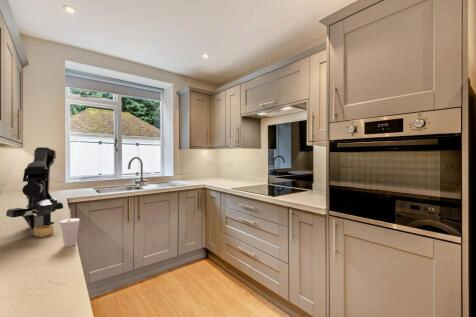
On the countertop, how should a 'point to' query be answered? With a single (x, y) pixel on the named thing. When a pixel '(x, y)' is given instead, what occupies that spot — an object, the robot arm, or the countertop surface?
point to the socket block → (43, 231)
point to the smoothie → (69, 230)
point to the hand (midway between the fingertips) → (36, 228)
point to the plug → (37, 222)
